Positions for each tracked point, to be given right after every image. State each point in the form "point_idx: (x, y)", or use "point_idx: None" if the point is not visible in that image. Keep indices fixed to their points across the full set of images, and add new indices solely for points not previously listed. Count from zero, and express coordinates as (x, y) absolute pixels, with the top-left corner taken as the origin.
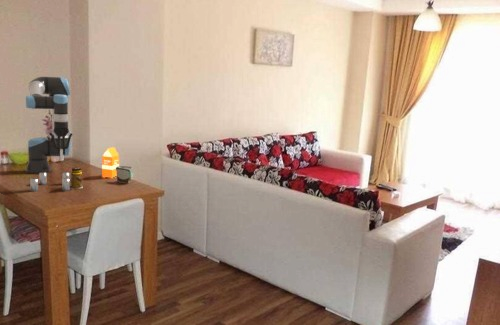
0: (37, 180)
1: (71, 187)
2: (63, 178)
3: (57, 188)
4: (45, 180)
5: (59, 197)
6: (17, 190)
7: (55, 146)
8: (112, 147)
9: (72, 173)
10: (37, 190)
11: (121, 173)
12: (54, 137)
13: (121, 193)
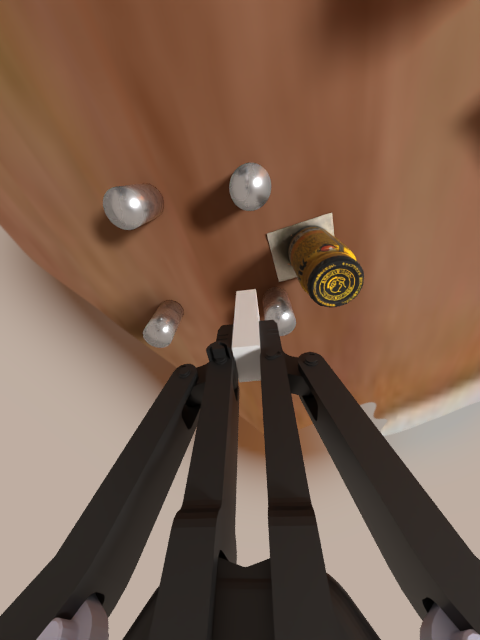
0: (173, 335)
1: (288, 257)
2: (269, 319)
3: (237, 275)
4: (156, 214)
5: None
6: (117, 311)
7: (192, 413)
8: None
9: (308, 293)
10: (182, 315)
11: None
12: (124, 528)
13: (474, 324)
